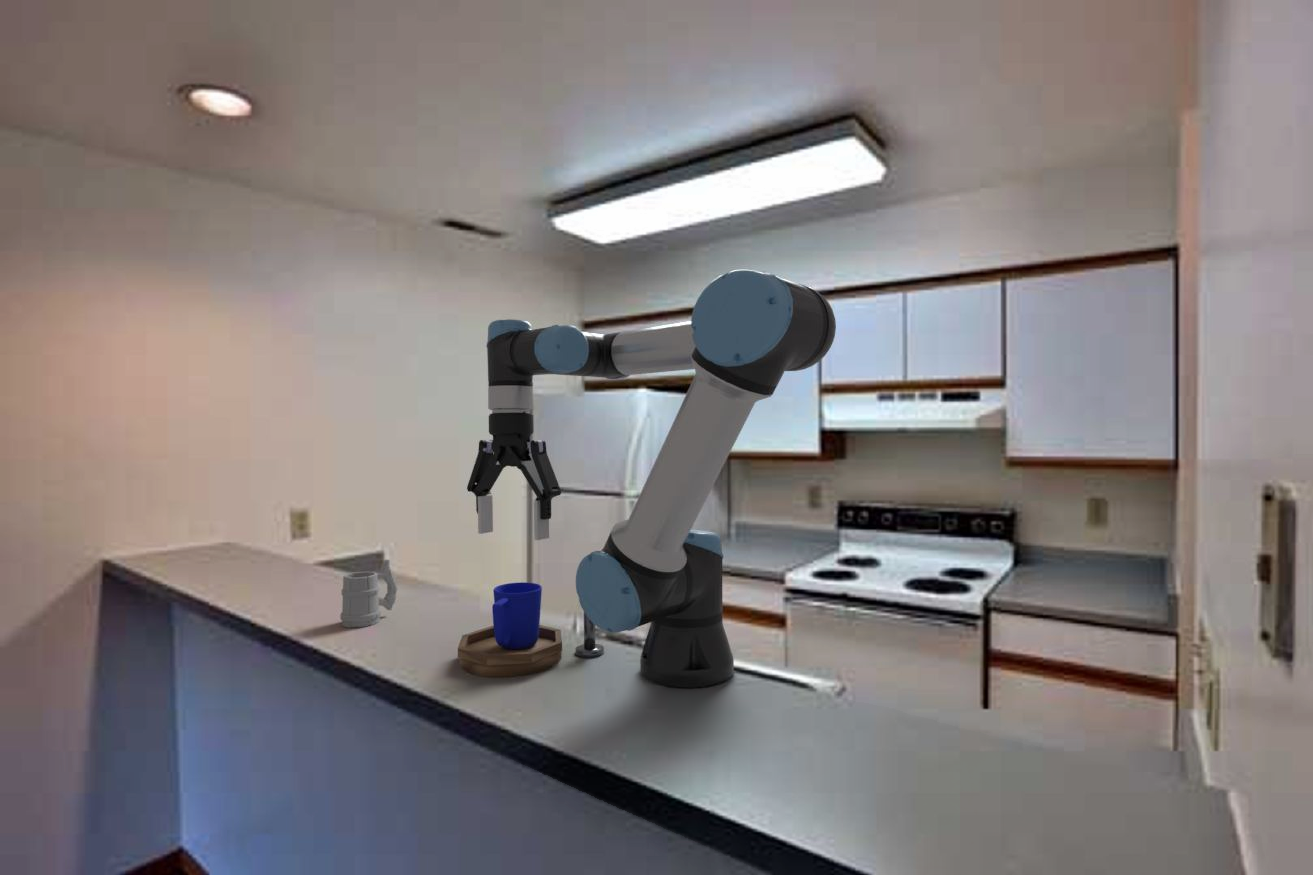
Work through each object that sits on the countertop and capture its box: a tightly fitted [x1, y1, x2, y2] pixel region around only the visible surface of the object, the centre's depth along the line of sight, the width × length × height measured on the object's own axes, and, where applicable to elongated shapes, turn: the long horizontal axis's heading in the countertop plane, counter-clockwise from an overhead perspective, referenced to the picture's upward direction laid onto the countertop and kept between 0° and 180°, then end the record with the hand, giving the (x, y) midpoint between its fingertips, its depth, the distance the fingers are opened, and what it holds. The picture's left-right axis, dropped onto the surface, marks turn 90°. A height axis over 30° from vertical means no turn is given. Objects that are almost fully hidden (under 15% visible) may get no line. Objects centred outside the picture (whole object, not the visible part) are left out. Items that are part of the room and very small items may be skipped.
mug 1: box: [339, 559, 398, 629], centre depth 142 cm, size 8×12×12 cm, turn 142°
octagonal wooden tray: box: [457, 624, 563, 678], centre depth 118 cm, size 17×17×4 cm
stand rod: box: [574, 611, 605, 658], centre depth 121 cm, size 5×5×8 cm
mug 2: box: [491, 581, 543, 649], centre depth 117 cm, size 8×12×10 cm
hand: (512, 535), depth 118 cm, fingers open, 13 cm apart
